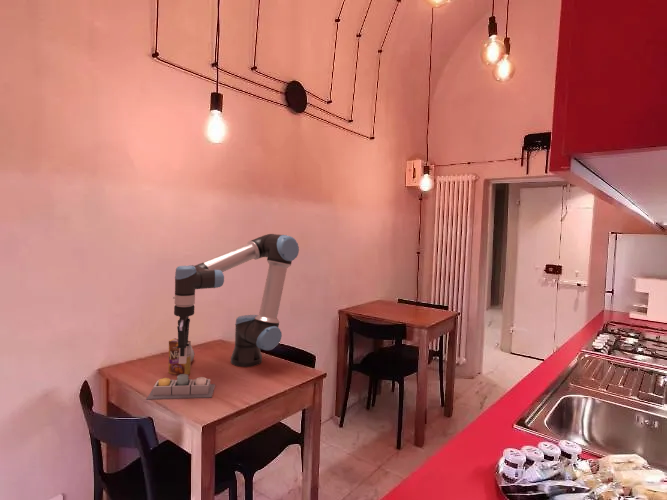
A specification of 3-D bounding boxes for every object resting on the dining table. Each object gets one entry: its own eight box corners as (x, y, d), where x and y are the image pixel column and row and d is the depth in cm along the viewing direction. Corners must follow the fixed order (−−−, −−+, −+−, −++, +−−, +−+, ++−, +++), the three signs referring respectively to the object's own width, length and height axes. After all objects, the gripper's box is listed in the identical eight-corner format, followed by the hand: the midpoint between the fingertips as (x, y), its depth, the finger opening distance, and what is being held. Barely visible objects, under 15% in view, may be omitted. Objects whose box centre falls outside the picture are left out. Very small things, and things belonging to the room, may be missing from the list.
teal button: (189, 383, 161) (189, 373, 160) (187, 387, 157) (187, 378, 156) (178, 383, 160) (178, 374, 160) (176, 388, 156) (176, 378, 156)
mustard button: (170, 387, 160) (171, 377, 159) (168, 391, 155) (168, 382, 155) (159, 387, 159) (160, 378, 159) (157, 392, 155) (157, 382, 154)
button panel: (215, 384, 167) (215, 376, 166) (211, 397, 155) (211, 388, 155) (154, 386, 162) (154, 377, 162) (146, 399, 150) (146, 390, 150)
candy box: (167, 373, 175) (168, 340, 174) (174, 370, 180) (174, 337, 178) (184, 377, 173) (185, 343, 172) (190, 373, 177) (191, 340, 176)
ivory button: (206, 386, 162) (207, 377, 162) (205, 390, 158) (205, 381, 158) (196, 386, 161) (196, 377, 161) (194, 391, 157) (194, 381, 157)
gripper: (177, 301, 162) (176, 357, 163) (170, 308, 149) (168, 369, 150) (197, 301, 163) (195, 357, 164) (191, 308, 150) (189, 369, 152)
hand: (182, 363), depth 157 cm, fingers closed
